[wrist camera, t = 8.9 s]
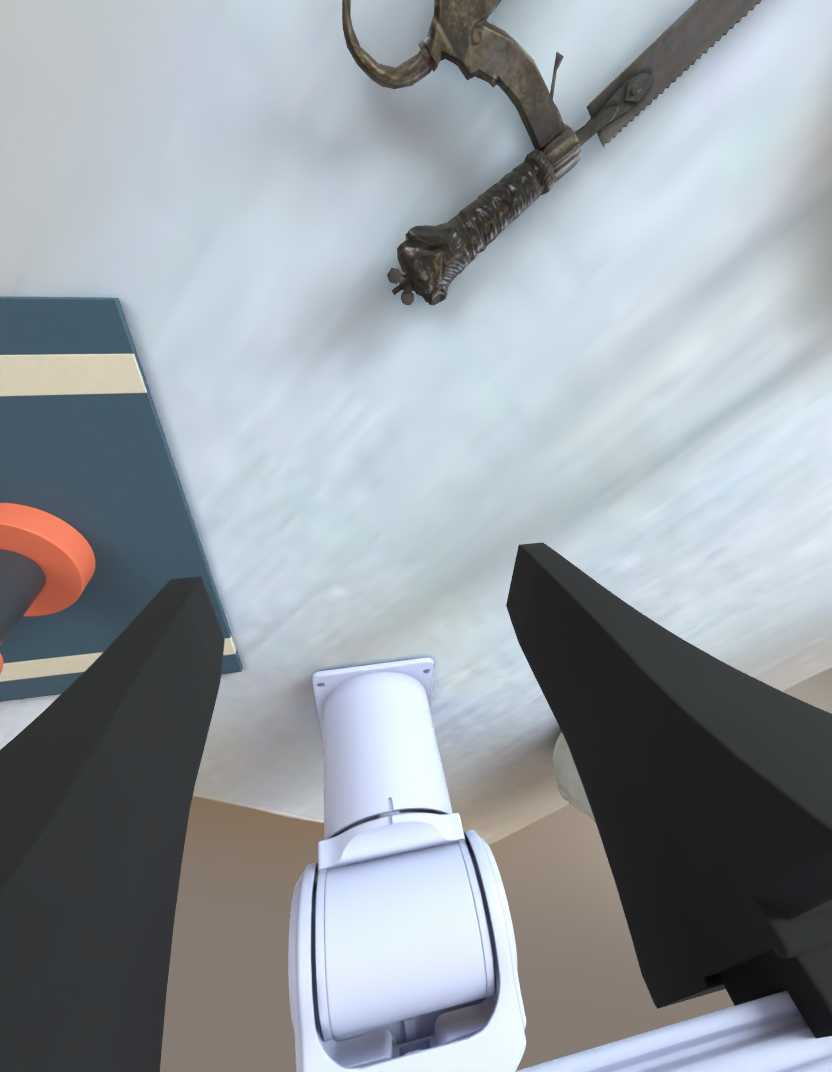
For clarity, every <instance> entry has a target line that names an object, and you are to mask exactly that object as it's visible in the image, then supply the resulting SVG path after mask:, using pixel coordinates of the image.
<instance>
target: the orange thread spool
mask: <svg viewBox="0 0 832 1072" xmlns="http://www.w3.org/2000/svg"><path fill="white" fill-rule="evenodd" d="M95 566H96V564H95V556H94V553H93V551H92V548H91V546H90V545H89V543H88V542H87V540H86V539H85V538H84V537H83V536H82V535H81V534H80V533H79V532H78V531H77V530H76V529H75V528H73V527H72V526H71V525H69V524H68V523H66V522H65V521H63V520H62V519H60V518H58V517H56V516H54V515H52V514H50V513H47V512H45V511H42V510H39V509H36V508H33V507H29V506H25V505H19V504H13V503H0V646H1V645H2V643H3V642H4V641H5V639H6V638H7V637H8V635H9V634H10V633H11V631H12V630H13V629H14V627H15V626H16V625H17V623H18V622H19V621H20V619H21V618H22V616H42V615H48V614H52V613H56V612H59V611H62V610H64V609H66V608H68V607H69V606H71V605H72V604H73V603H74V602H75V601H76V600H77V599H78V598H79V597H80V595H81V594H82V592H83V590H84V589H85V587H86V586H87V584H88V582H89V581H90V579H91V578H92V576H93V574H94V571H95ZM2 670H3V658H2V656H1V653H0V674H1V672H2Z"/></svg>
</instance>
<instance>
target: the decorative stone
mask: <svg viewBox="0 0 832 1072" xmlns="http://www.w3.org/2000/svg"><path fill="white" fill-rule="evenodd" d="M552 764H553V768H554V771H555V775H556V780H557V783H558V788H559V791H560V794H561V796H562V797H563V798H564V799H565V800H567V801H568V802H569V803H571V804H572V805H573V806H574V807H576V808H577V809H578V810H580V811H581V812H583V813H585V814H586V815H588V816H589V817H590V818H591V819H592V820H594V821H595V819H594V816H593V813H592V810H591V807H590V804H589V802H588V799H587V796H586V793H585V790H584V787H583V785H582V782H581V779H580V777H579V774H578V771H577V769H576V766H575V763H574V761H573V758H572V755H571V753H570V750H569V747H568V745H567V742H566V740H565V738H564V735H563V733H562V732H561V733H560V735H559V737H558V739H557V741H556V744H555V747H554V752H553V760H552Z"/></svg>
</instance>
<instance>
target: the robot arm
mask: <svg viewBox="0 0 832 1072" xmlns="http://www.w3.org/2000/svg"><path fill="white" fill-rule="evenodd" d="M506 606H507V609H508V612H509V615H510V618H511V621H512V624H513V627H514V630H515V633H516V636H517V639H518V642H519V644H520V646H521V648H522V650H523V652H524V655H525V657H526V659H527V661H528V663H529V665H530V667H531V669H532V671H533V673H534V675H535V677H536V679H537V681H538V683H539V685H540V687H541V690H542V692H543V694H544V696H545V698H546V700H547V702H548V704H549V706H550V708H551V710H552V712H553V714H554V716H555V718H556V720H557V722H558V724H559V726H560V729H561V731H562V733H563V735H564V738H565V740H566V742H567V745H568V747H569V750H570V753H571V755H572V758H573V761H574V763H575V766H576V769H577V771H578V774H579V777H580V779H581V782H582V785H583V787H584V790H585V793H586V796H587V799H588V802H589V804H590V807H591V810H592V813H593V816H594V819H595V822H596V824H597V827H598V830H599V833H600V836H601V839H602V842H603V845H604V849H605V852H606V855H607V858H608V861H609V864H610V867H611V870H612V873H613V876H614V879H615V883H616V886H617V889H618V893H619V896H620V900H621V903H622V906H623V910H624V913H625V917H626V920H627V923H628V926H629V930H630V933H631V937H632V940H633V944H634V948H635V951H636V955H637V959H638V962H639V966H640V969H641V973H642V976H643V978H644V980H645V983H646V985H647V988H648V990H649V992H650V994H651V997H652V999H653V1002H654V1004H655V1006H656V1007H657V1008H661V1007H665V1006H668V1005H671V1004H675V1003H678V1002H682V1001H685V1000H689V999H692V998H696V997H699V996H702V995H705V994H709V993H713V992H716V991H720V990H723V989H726V990H727V992H728V994H729V996H730V997H731V999H732V1001H733V1003H734V1005H735V1006H733V1007H730V1008H726V1009H723V1010H720V1011H717V1012H713V1013H710V1014H706V1015H703V1016H700V1017H697V1018H693V1019H690V1020H686V1021H683V1022H679V1023H677V1024H673V1025H670V1026H666V1027H663V1028H659V1029H656V1030H653V1031H649V1032H646V1033H643V1034H639V1035H636V1036H633V1037H629V1038H626V1039H623V1040H619V1041H616V1042H612V1043H609V1044H606V1045H602V1046H599V1047H596V1048H592V1049H589V1050H586V1051H582V1052H579V1053H576V1054H572V1055H569V1056H566V1057H562V1058H559V1059H555V1060H552V1061H549V1062H545V1063H542V1064H539V1065H536V1066H532V1067H529V1068H525V1069H522V1070H518V1071H516V1069H517V1067H518V1065H519V1063H520V1061H521V1058H522V1056H523V1053H524V1050H525V1046H526V1039H525V1034H524V1029H525V1026H526V1017H525V1012H524V1007H523V1002H522V997H521V991H520V986H519V980H518V974H517V953H516V945H515V937H514V931H513V926H512V921H511V916H510V911H509V907H508V902H507V898H506V895H505V891H504V887H503V883H502V880H501V877H500V873H499V870H498V867H497V864H496V861H495V859H494V856H493V854H492V852H491V849H490V847H489V846H488V844H487V843H486V842H485V841H484V840H483V839H482V838H481V837H479V836H478V834H477V833H476V832H475V831H473V830H469V831H466V832H463V828H462V824H461V819H460V815H459V813H454V814H453V812H452V808H451V804H450V799H449V795H448V790H447V786H446V781H445V777H444V772H443V768H442V763H441V759H440V754H439V750H438V745H437V741H436V736H435V732H434V727H433V723H432V718H431V714H430V705H431V694H432V684H433V673H434V662H433V659H432V658H419V659H411V660H403V661H395V662H388V663H380V664H372V665H364V666H357V667H349V668H341V669H333V670H325V671H318V672H316V673H314V674H313V675H312V684H313V690H314V695H315V700H316V706H317V711H318V716H319V722H320V727H321V733H322V738H323V743H324V838H325V839H324V840H322V841H320V842H319V843H318V863H313V864H309V865H307V866H306V868H305V869H304V872H303V874H302V875H301V877H300V878H299V880H298V881H297V883H296V885H295V888H294V893H293V898H292V905H291V915H290V928H289V954H288V959H289V960H288V962H289V964H288V965H289V967H288V968H289V969H288V971H289V997H290V1008H291V1016H292V1022H293V1027H294V1030H295V1047H296V1072H832V714H831V713H828V712H826V711H824V710H821V709H819V708H816V707H814V706H812V705H809V704H808V703H805V702H803V701H801V700H799V699H796V698H794V697H792V696H790V695H788V694H786V693H783V692H781V691H779V690H777V689H775V688H773V687H771V686H769V685H767V684H765V683H763V682H761V681H759V680H757V679H755V678H753V677H751V676H749V675H747V674H745V673H743V672H741V671H739V670H737V669H735V668H733V667H731V666H729V665H727V664H725V663H724V662H722V661H720V660H718V659H716V658H714V657H713V656H711V655H709V654H707V653H706V652H704V651H702V650H700V649H698V648H697V647H695V646H693V645H691V644H690V643H688V642H686V641H684V640H683V639H681V638H679V637H678V636H676V635H674V634H673V633H671V632H669V631H668V630H666V629H665V628H663V627H662V626H660V625H658V624H657V623H655V622H654V621H652V620H651V619H649V618H648V617H646V616H645V615H643V614H642V613H640V612H638V611H637V610H635V609H634V608H633V607H631V606H630V605H628V604H627V603H625V602H624V601H622V600H621V599H620V598H618V597H617V596H615V595H614V594H612V593H611V592H610V591H608V590H607V589H606V588H604V587H603V586H601V585H600V584H599V583H597V582H596V581H595V580H593V579H592V578H590V577H589V576H588V575H586V574H585V573H584V572H582V571H581V570H580V569H578V568H577V567H576V566H574V565H573V564H572V563H570V562H569V561H568V560H566V559H565V558H564V557H562V556H561V555H560V554H558V553H557V552H556V551H554V550H553V549H551V548H550V547H548V546H547V545H546V544H544V543H534V544H524V545H519V547H518V552H517V556H516V561H515V566H514V571H513V576H512V580H511V585H510V590H509V595H508V600H507V604H506ZM224 643H225V638H224V636H223V633H222V630H221V628H220V625H219V622H218V620H217V617H216V614H215V612H214V609H213V606H212V604H211V601H210V598H209V596H208V593H207V590H206V588H205V585H204V582H203V580H202V577H201V576H199V577H188V578H178V579H171V580H170V581H169V582H168V583H167V584H166V585H165V586H164V587H163V588H162V589H161V590H160V591H159V592H158V594H157V595H156V596H155V597H154V598H153V599H152V600H151V601H150V602H149V603H148V605H147V606H146V607H145V608H144V609H143V610H142V611H141V612H140V613H139V614H138V616H137V617H136V618H135V619H134V620H133V621H132V622H131V623H130V624H129V625H128V626H127V628H126V629H125V630H124V631H123V632H122V633H121V634H120V635H119V636H118V637H117V638H116V639H115V640H114V642H113V643H112V644H111V645H110V646H109V647H108V648H107V649H106V650H105V651H104V652H103V653H102V654H101V655H100V656H99V657H98V658H97V660H96V661H95V662H94V663H93V664H92V665H91V666H90V667H89V668H88V669H87V670H86V671H85V672H84V673H83V674H82V675H80V676H79V677H78V678H77V679H76V680H75V681H74V682H73V683H72V684H71V685H70V686H69V687H68V688H67V689H66V690H65V691H64V692H63V693H62V694H61V695H60V696H59V697H58V698H57V699H56V700H55V701H54V702H53V703H52V704H51V705H50V706H49V707H48V708H47V709H46V710H45V711H44V712H43V713H41V714H40V715H39V716H38V717H37V718H36V719H35V720H34V721H33V722H32V723H31V724H29V725H28V726H27V727H26V728H25V729H24V730H23V731H22V732H21V733H19V734H18V735H17V736H16V737H15V738H14V739H13V740H11V741H10V742H9V743H8V744H7V745H6V746H4V747H3V748H2V749H1V750H0V1072H160V1061H161V1049H162V1038H163V1025H164V1013H165V1002H166V991H167V982H168V972H169V963H170V954H171V944H172V935H173V926H174V918H175V909H176V902H177V894H178V887H179V879H180V871H181V863H182V857H183V850H184V843H185V837H186V830H187V823H188V816H189V810H190V805H191V800H192V796H193V791H194V786H195V782H196V778H197V774H198V770H199V766H200V762H201V758H202V754H203V750H204V746H205V742H206V738H207V734H208V730H209V726H210V722H211V718H212V714H213V710H214V706H215V702H216V697H217V693H218V689H219V685H220V679H221V671H222V663H223V653H224Z"/></svg>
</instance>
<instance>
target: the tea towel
mask: <svg viewBox="0 0 832 1072" xmlns="http://www.w3.org/2000/svg"><path fill="white" fill-rule="evenodd" d="M0 503H13V504H19V505H25V506H29V507H33V508H36V509H39V510H42V511H45V512H47V513H50V514H52V515H54V516H56V517H58V518H60V519H62V520H63V521H65V522H66V523H68V524H69V525H71V526H72V527H73V528H75V529H76V530H77V531H78V532H79V533H80V534H81V535H82V536H83V537H84V538H85V539H86V540H87V542H88V543H89V545H90V546H91V548H92V551H93V553H94V556H95V564H96V566H95V571H94V574H93V576H92V578H91V579H90V581H89V582H88V584H87V586H86V587H85V589H84V590H83V592H82V594H81V595H80V597H79V598H78V599H77V600H76V601H75V602H74V603H73V604H72V605H71V606H69V607H68V608H66V609H64V610H62V611H59V612H56V613H52V614H48V615H42V616H22V618H21V619H20V621H19V622H18V623H17V625H16V626H15V627H14V629H13V630H12V631H11V633H10V634H9V635H8V637H7V638H6V639H5V641H4V642H3V643H2V645H1V646H0V653H1V656H2V658H3V670H2V672H1V674H0V702H1V701H9V700H17V699H25V698H33V697H41V696H49V695H57V694H62V693H63V692H64V691H65V690H66V689H67V688H68V687H69V686H70V685H71V684H72V683H73V682H74V681H75V680H76V679H77V678H78V677H79V676H80V675H82V674H83V673H84V672H85V671H86V670H87V669H88V668H89V667H90V666H91V665H92V664H93V663H94V662H95V661H96V660H97V658H98V657H99V656H100V655H101V654H102V653H103V652H104V651H105V650H106V649H107V648H108V647H109V646H110V645H111V644H112V643H113V642H114V640H115V639H116V638H117V637H118V636H119V635H120V634H121V633H122V632H123V631H124V630H125V629H126V628H127V626H128V625H129V624H130V623H131V622H132V621H133V620H134V619H135V618H136V617H137V616H138V614H139V613H140V612H141V611H142V610H143V609H144V608H145V607H146V606H147V605H148V603H149V602H150V601H151V600H152V599H153V598H154V597H155V596H156V595H157V594H158V592H159V591H160V590H161V589H162V588H163V587H164V586H165V585H166V584H167V583H168V582H169V581H170V580H171V579H178V578H188V577H199V576H201V577H202V580H203V582H204V585H205V588H206V590H207V593H208V596H209V598H210V601H211V604H212V606H213V609H214V612H215V614H216V617H217V620H218V622H219V625H220V628H221V630H222V633H223V636H224V638H225V643H224V653H223V663H222V671H221V674H226V673H234V672H241V671H242V665H241V662H240V659H239V656H238V653H237V650H236V647H235V644H234V641H233V638H232V635H231V632H230V629H229V626H228V623H227V620H226V618H225V615H224V612H223V609H222V606H221V603H220V600H219V597H218V594H217V591H216V588H215V585H214V582H213V579H212V576H211V573H210V570H209V567H208V564H207V561H206V558H205V555H204V552H203V549H202V546H201V543H200V540H199V537H198V534H197V531H196V528H195V525H194V522H193V519H192V516H191V513H190V510H189V507H188V505H187V502H186V499H185V496H184V493H183V490H182V487H181V484H180V481H179V478H178V475H177V472H176V469H175V466H174V463H173V460H172V457H171V454H170V451H169V448H168V445H167V442H166V439H165V436H164V433H163V430H162V427H161V424H160V421H159V418H158V415H157V412H156V409H155V406H154V403H153V400H152V397H151V395H150V392H149V389H148V386H147V383H146V380H145V377H144V374H143V371H142V368H141V365H140V362H139V359H138V356H137V353H136V350H135V347H134V344H133V341H132V338H131V335H130V332H129V329H128V326H127V323H126V320H125V317H124V314H123V311H122V308H121V305H120V302H119V299H118V298H79V297H0Z"/></svg>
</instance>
